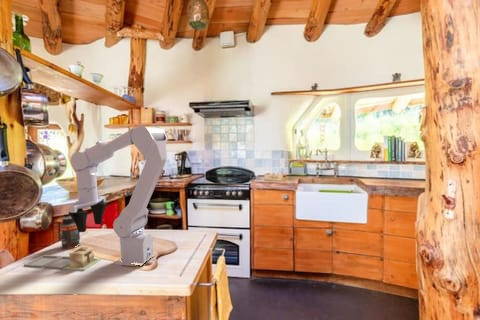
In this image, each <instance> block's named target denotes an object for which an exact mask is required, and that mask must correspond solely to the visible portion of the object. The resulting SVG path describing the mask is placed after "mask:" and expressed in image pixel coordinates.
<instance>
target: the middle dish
mask: <svg viewBox="0 0 480 320" xmlns="http://www.w3.org/2000/svg"><path fill="white" fill-rule="evenodd" d="M68 265H70V257H69V255H68V256H66V255H63V256H62V255H61V257H60V258H58V259H56V260H54V261H52V262H50V263H49V264H47V265H45V266H44V267H43V269H57V270H65V268H64V267H66V266H68Z"/></svg>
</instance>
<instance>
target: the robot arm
mask: <svg viewBox="0 0 480 320" xmlns="http://www.w3.org/2000/svg"><path fill="white" fill-rule="evenodd" d="M168 140H169V138H168V136H167V134H166V131H165V130H164V129H163V128H162V127H160V126H144V125H137V126H136V127H133V128H129V129H128V130H127V131H126V132H124V133H122V134H121V135H119V136H118V137H116V138H114V139H112V140H111V141H109V142H107V141H102V140H99V141H96V142H95V145H93V146H91V147H86V148H84V151H75V152H74V153H72V154H71V156H70V164H71V166H72V168H73V169H74V170H75V176H76V189H77V199H78V200H77V201H75V203H73V204H72V205H69V206H68V216H71V218H72V219H73V220H74V222H75V224H76V226H77V229H78V231H79V232H80V233H85V232H86V231H87V217H88V214H89V210H84V209H86V208H89V207H90V209H91V212H92V216H93V221H94V225H102V223H103V219H104V218H103V217H104V214H105V211H106V209H107V207H108V202H107V197H106V195H100V196H99V194H98V193H99V192H98V191H99V190H98V183H97V181H98V180H97V172H98V166H99V165H100V164H101V163H103V162H105V161H107V160H109V159H111V158H113V157H114V155H115V152H117V151H119V150H120V151H121V150H122V149H125V148H127V147H129V146H131V145H134V146H135V147H136V149H137V150H138V151H139V152H140V153H141V154H142V156H143V157H144V159H145V163H144V165H143V168H142V169H141V173H140V174H139V178H138V181H137V182H136V185H135V187H134V190H133V192H132V195H131V197H130V199H129V203H128V204H127V206H125V207H124V208H123V210H121V212H120V214H119V215H118V216H117V218H115V219H114V220H113V224H112V226H113V231H114V233H115V234H116V235H117V237H118V238H119V245H120V246H119V247H120V259H121V261H122V262H121V261H119V260H118V261H116V262H114V263H115V265H121V266H128V267H129V266H131V267H137V266H136V265H135V264H131V263H134V262H135V263H136V262H137V263H145V262H146V261H147V260H148V259H150V258H151V257H152V256H153V254H154V243H153V242H154V241H153V236H152V235H151V234H150V233H146V232H145V227H146V225H147V223H148V214H149V211H150V210H149V209H148V208H147V207H148V204H149V202H150V200H151V197H152V195H153V193H154V190H155V189H156V186H157V184H158V181H159V178H160V177H161V174H162V172H163V169H164V167H165V164H166V162H167V142H168ZM151 259H152V258H151ZM151 259H150V260H151Z"/></svg>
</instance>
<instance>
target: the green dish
mask: <svg viewBox="0 0 480 320" xmlns="http://www.w3.org/2000/svg"><path fill="white" fill-rule="evenodd" d="M100 261H102V259H101V258H97V257H94V262H93V263H91V264H89V265H88V266H86V267H85V268H77V267H70V265H68V266H66V267H64V270H69V271H71V270H72V271H84V272H85V271H86V270H88V269H89V268H91V267H93V266H94V265H95V264H97V263H99V262H100Z"/></svg>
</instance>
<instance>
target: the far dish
mask: <svg viewBox="0 0 480 320" xmlns="http://www.w3.org/2000/svg"><path fill="white" fill-rule="evenodd" d="M60 257H62V255H49V254H44V255H41V256H39V257H37V258H34V259H33V260H31V261H28V262H26V263H24V264H23V266H24V267H30V268H32V267H33V268H43V269H44V266H45V265H47V264H49V263H50V262H52V261H54V260H56V259H58V258H60Z"/></svg>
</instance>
